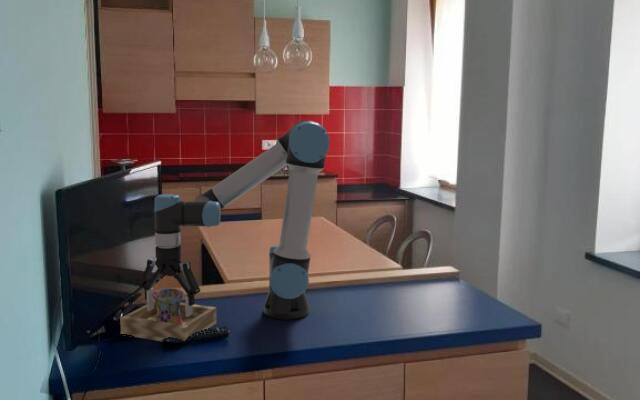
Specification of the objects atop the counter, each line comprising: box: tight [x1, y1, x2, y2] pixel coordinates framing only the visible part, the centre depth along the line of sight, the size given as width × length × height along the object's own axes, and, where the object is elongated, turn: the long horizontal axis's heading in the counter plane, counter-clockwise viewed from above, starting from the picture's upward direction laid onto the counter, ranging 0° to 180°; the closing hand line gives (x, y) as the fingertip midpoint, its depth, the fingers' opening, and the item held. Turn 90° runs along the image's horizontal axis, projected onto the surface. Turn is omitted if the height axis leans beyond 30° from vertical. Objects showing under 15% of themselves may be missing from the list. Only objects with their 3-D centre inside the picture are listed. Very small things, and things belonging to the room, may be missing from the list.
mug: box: [152, 288, 185, 325], centre depth 186 cm, size 12×9×11 cm
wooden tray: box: [119, 300, 218, 342], centre depth 187 cm, size 22×19×5 cm
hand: (169, 312), depth 186 cm, fingers open, 13 cm apart
